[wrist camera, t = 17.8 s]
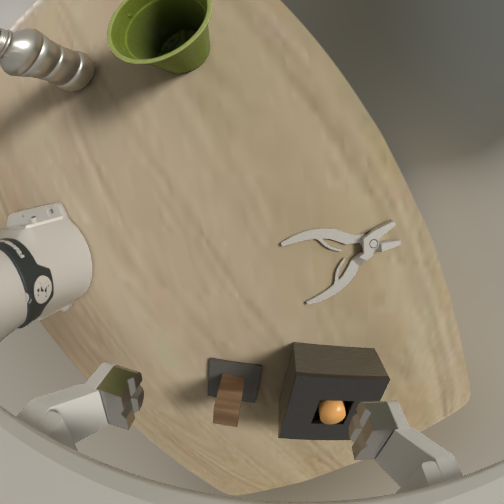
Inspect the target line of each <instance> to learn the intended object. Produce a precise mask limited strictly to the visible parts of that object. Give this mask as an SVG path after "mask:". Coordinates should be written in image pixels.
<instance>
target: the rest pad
mask: <svg viewBox="0 0 504 504" xmlns="http://www.w3.org/2000/svg"><path fill="white" fill-rule="evenodd" d="M261 368H262V365H255V364H247V363H240V362H234V361H227V360H221V359H215V358H210V365H209V383H208V396H213V397H217V394H218V390H219V386H220V382H221V378H222V374H223V373H224V374H231V375H238V376H245V380H244V387H243V394H242V400H241V401H245V402H253V403H255V400H256V395H257V390H258V384H259V379H260V374H261Z"/></svg>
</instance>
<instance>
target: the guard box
mask: <svg viewBox="0 0 504 504" xmlns="http://www.w3.org/2000/svg"><path fill="white" fill-rule="evenodd" d="M389 381H390V378H389V376H388V374H387V372H386V370H385V368H384V366H383V364H382V362H381V360H380V358H379V356H378V354H377V352H376V351H375V349H374V348H357V347H342V346H329V345H317V344H307V343H297V342H294V343H293V347H292V351H291V356H290V360H289V364H288V368H287V372H286V376H285V380H284V384H283V388H282V392H281V396H280V400H279V423H278V438H287V439H305V440H351V439H350V437H349V424H350V421H351V419H352V417H353V416H354V415H356V414H357V410H356V408H357V406H358V404H359V403H360V402H372V401H380V400H381V398H382V396H383V393H384V391H385V389H386V387H387V385H388V383H389ZM320 400H330V401H343V404H344V408H345V412H346V416H345V418H344V419H343V420H342V421H340V422H339V423H336V424H330V425H329V424H324V423H323V422H321V420H320V414H319V407H318V404H319V401H320Z"/></svg>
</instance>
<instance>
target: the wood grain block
mask: <svg viewBox="0 0 504 504" xmlns="http://www.w3.org/2000/svg"><path fill="white" fill-rule="evenodd" d="M244 380H245V376H238V375H231V374H224V373H223V374H222V378H221V382H220V386H219V390H218V394H217V398H216V401H215V405H214V415H213V423H215V424H221V425H228V426H234V427H237V426H238V420H239V413H240V407H241V400H242V394H243V387H244Z"/></svg>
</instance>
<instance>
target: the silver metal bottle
mask: <svg viewBox="0 0 504 504" xmlns="http://www.w3.org/2000/svg"><path fill="white" fill-rule="evenodd" d="M0 65H1V67H2V69H3V70H4V71H5V72H6V73H7V74H9V75H11V76H23V77H33V78H39V79H43V80H46V81H48V82H50V83H52V84H54V85H56V86H57V87H59V88H60V89H62V90H64V91H78V90H80V89H82V88H83V87H85V86H86V85H87V84H88V83H89V82H90V80H91V79H92V77H93V74H94V70H95V67H94V61H93V60H92V58H91V57H90V56H88V55H87V54H86V53H83V52H80V51H73V50H71V49H68V48H65V47H62V46H60V45H58V44H57V43H55V42H53V41H52V40H50V39H49V38H48V37H46V36H45V35H44V34H42V33H41V32H40V31H38V30H36V29H23V30H20V31H17V32H15V33H12V31H10V30H4V29H1V28H0Z"/></svg>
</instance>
